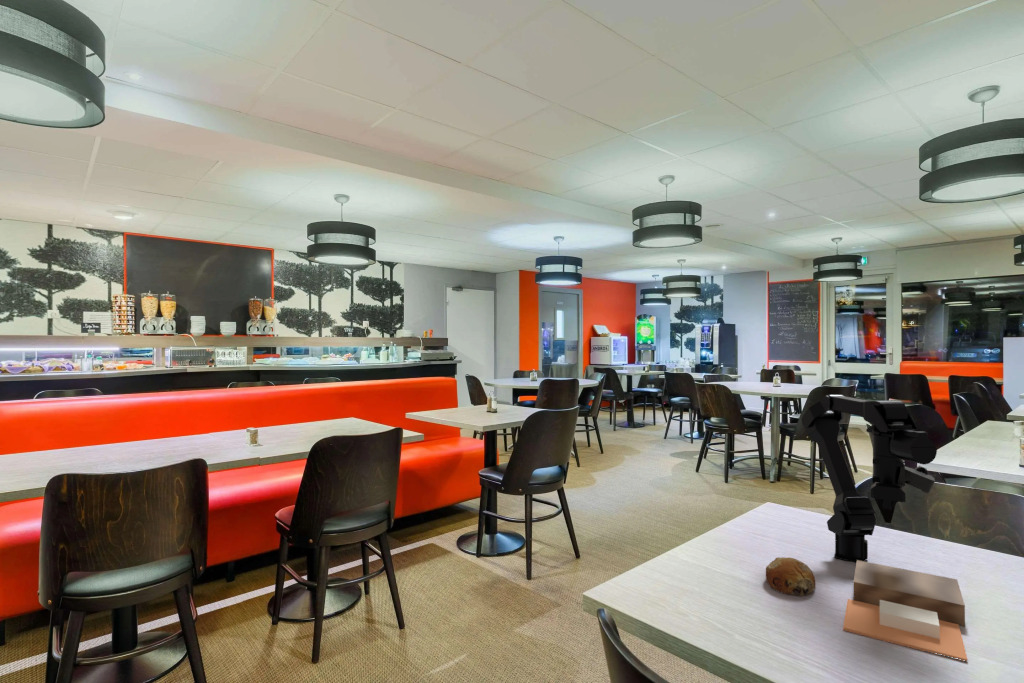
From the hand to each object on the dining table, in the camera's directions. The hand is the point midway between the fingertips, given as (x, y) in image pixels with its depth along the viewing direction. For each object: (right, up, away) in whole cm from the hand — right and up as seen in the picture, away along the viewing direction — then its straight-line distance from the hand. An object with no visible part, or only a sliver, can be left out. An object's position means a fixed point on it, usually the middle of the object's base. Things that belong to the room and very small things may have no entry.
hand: (888, 522), depth 123 cm
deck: (-3, -13, -10) cm, 17 cm away
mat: (-13, -13, -22) cm, 28 cm away
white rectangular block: (-11, -11, -21) cm, 26 cm away
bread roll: (-25, -13, -4) cm, 28 cm away
